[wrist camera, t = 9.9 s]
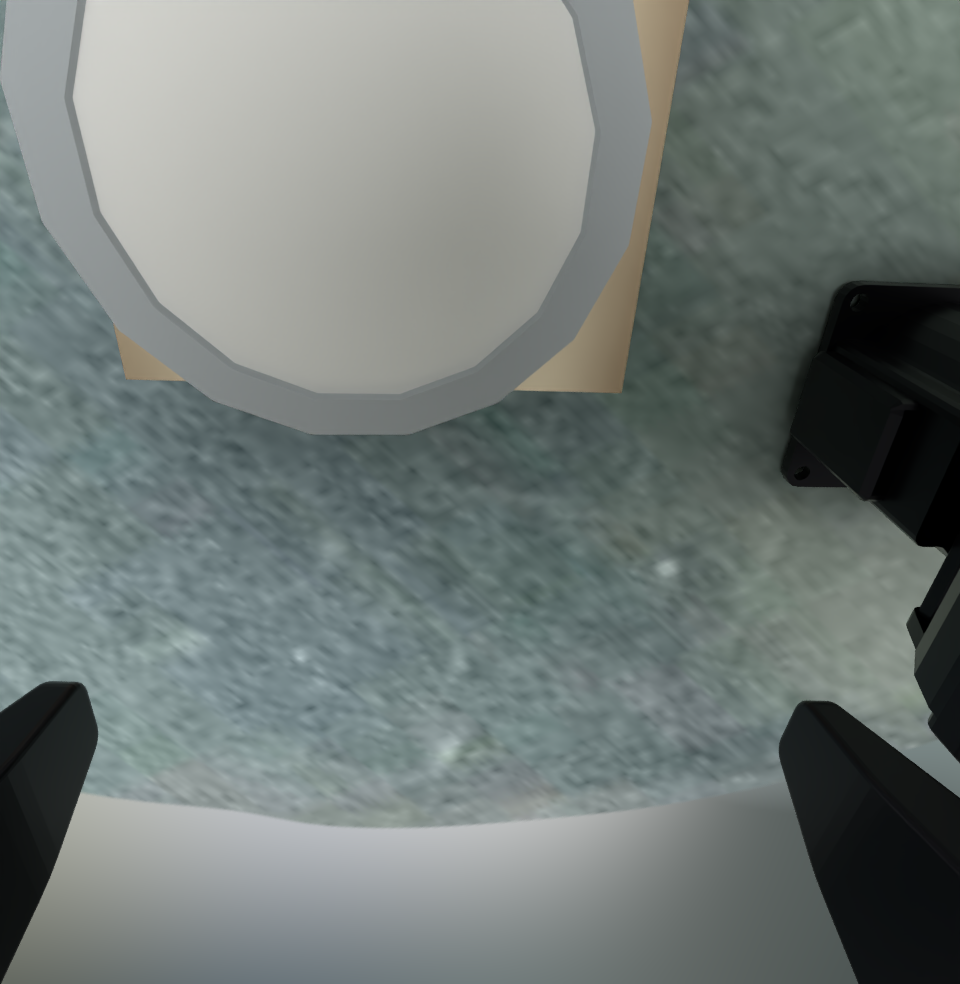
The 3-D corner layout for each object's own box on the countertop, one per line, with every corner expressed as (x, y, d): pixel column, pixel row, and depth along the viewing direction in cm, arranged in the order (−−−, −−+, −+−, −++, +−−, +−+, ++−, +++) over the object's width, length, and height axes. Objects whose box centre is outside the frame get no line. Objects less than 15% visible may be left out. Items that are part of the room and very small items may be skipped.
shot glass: (94, 32, 12) (-183, 33, 6) (417, -234, 10) (454, -561, 5) (332, 340, 15) (299, 520, 10) (593, 176, 14) (733, 274, 8)
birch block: (666, -210, 14) (742, -313, 11) (589, 343, 20) (621, 393, 17) (75, -269, 13) (-54, -403, 10) (181, 329, 19) (126, 379, 16)
